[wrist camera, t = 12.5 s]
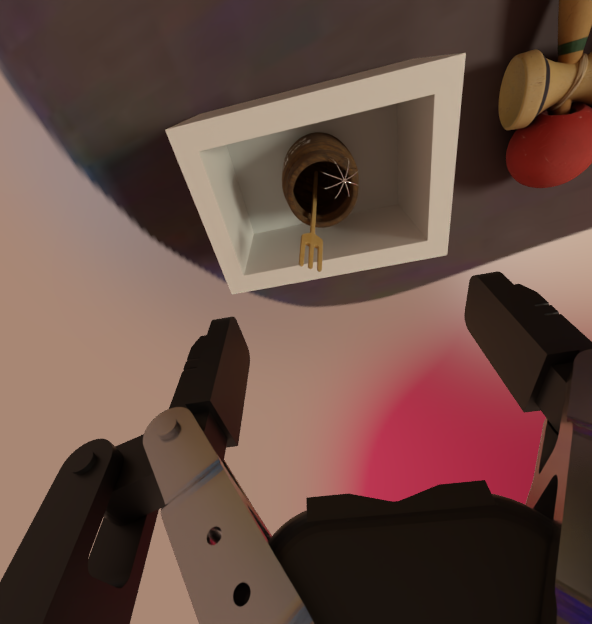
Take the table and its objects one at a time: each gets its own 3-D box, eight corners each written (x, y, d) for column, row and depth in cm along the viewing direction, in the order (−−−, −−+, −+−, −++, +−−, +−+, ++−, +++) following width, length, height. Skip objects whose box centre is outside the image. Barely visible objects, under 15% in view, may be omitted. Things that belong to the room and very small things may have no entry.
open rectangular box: (200, 113, 26) (164, 129, 18) (413, 58, 24) (466, 52, 16) (245, 245, 33) (231, 294, 26) (411, 212, 31) (447, 255, 24)
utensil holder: (362, 144, 26) (402, 185, 17) (333, 214, 30) (352, 281, 20) (295, 118, 25) (296, 147, 15) (273, 194, 29) (264, 256, 19)
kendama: (490, -95, 20) (476, 194, 29) (586, -188, 15) (533, 205, 23) (603, -122, 20) (555, 172, 29) (739, -224, 15) (630, 178, 23)
